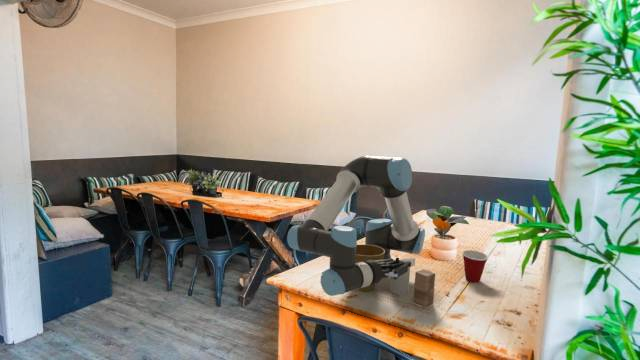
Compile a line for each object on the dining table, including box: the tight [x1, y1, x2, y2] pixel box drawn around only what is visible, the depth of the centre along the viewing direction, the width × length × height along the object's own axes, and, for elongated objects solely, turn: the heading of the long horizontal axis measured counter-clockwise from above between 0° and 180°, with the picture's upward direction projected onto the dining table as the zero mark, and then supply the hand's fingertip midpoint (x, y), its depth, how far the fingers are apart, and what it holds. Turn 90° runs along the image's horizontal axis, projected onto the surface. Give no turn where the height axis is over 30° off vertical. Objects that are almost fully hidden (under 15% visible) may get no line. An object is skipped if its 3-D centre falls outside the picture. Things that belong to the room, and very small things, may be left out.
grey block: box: [389, 267, 411, 297], centre depth 144 cm, size 5×5×12 cm
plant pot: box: [355, 243, 385, 292], centre depth 146 cm, size 15×15×16 cm
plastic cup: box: [461, 249, 490, 284], centre depth 159 cm, size 11×11×12 cm
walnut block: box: [412, 269, 436, 309], centre depth 134 cm, size 5×5×12 cm
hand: (413, 261), depth 128 cm, fingers closed
